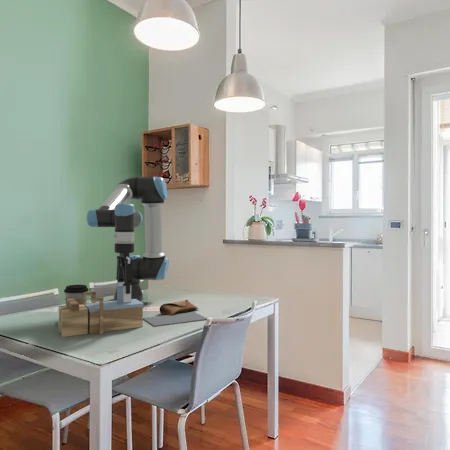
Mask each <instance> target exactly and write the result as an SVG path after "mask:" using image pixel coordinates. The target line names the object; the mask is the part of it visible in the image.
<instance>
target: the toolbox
mask: <svg viewBox="0 0 450 450" xmlns="http://www.w3.org/2000/svg"><path fill="white" fill-rule="evenodd" d="M96 295H97V293H96V291H87V292H84V296H87V297H88V296H91V298H90V301H89V303H95V302H99V311H95V312H89V311H88V309H87V307H86V306H85V305H84V304H79V311H75V312H72V311H71V310H70V309H69V307H68V306H67V305H66V304H65V305H59V306H58V331H59V333H60V336H61V337H64V338H65V337H72V336H80V335H86V334H87V335H88V333H89V334H96V333H97V334H98V333H99V334H100V335H102V334H104V332H111V331H119V330H127V329H135V328H142V327H143V320H144V319H143V318H144V316H143V315H144V314H143V313H144V312H143V311H144V309H143V307H134V308H124V309H114V310H104V311H103V302H104V297H96Z"/></svg>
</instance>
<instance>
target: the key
mask: <svg viewBox="0 0 450 450" xmlns="http://www.w3.org/2000/svg"><path fill="white" fill-rule="evenodd" d="M65 298H66V301H65V306H66V305H67V306H68V307H69V309H70V310H71V311H72V312H75V311H79V304H78V303H77V302H76V300H75V299H74V298H73V297H65Z"/></svg>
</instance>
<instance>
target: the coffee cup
mask: <svg viewBox="0 0 450 450" xmlns="http://www.w3.org/2000/svg"><path fill="white" fill-rule="evenodd" d="M63 292H64V294H65V295H64V296H65V298H64V300H65V302H66V297H73V298H74V299H75V300H76V302H77V303H78V304H84V303H87V301H88V300H87V299H88V296H84V292H90V291H89V288H88V286H87V285H86V284H71V285H66V287H65V289H63Z"/></svg>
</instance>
